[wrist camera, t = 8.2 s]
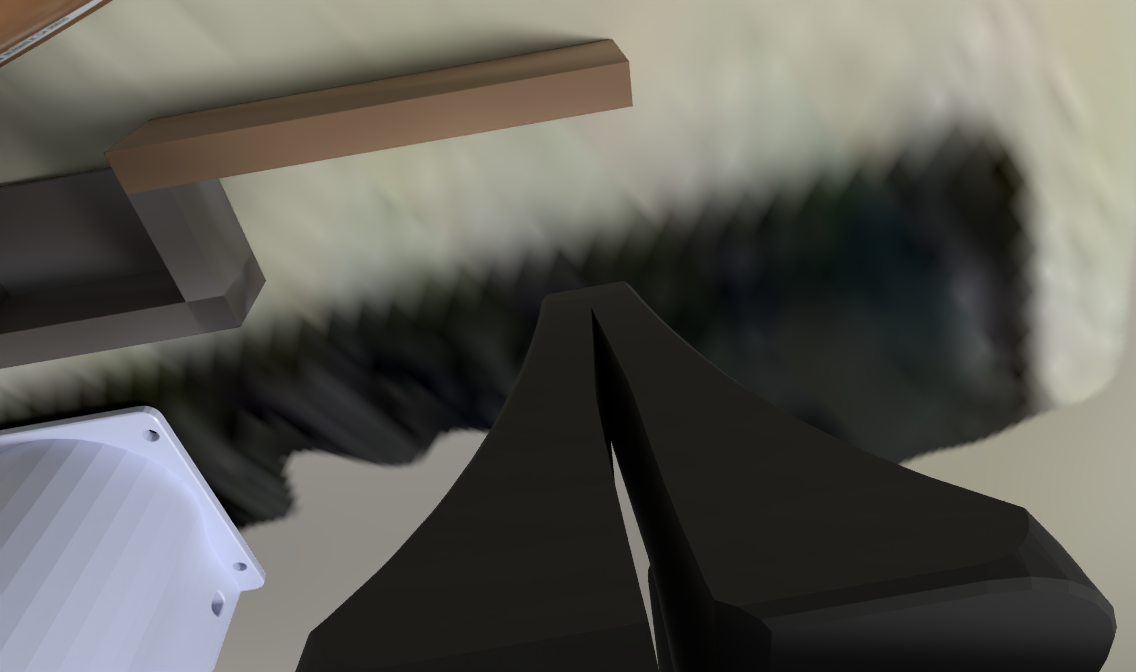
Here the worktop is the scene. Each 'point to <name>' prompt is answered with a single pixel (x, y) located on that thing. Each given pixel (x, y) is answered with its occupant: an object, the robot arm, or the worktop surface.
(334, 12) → the worktop surface
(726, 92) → the worktop surface
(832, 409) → the worktop surface
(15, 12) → the tin
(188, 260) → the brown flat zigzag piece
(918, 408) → the worktop surface
